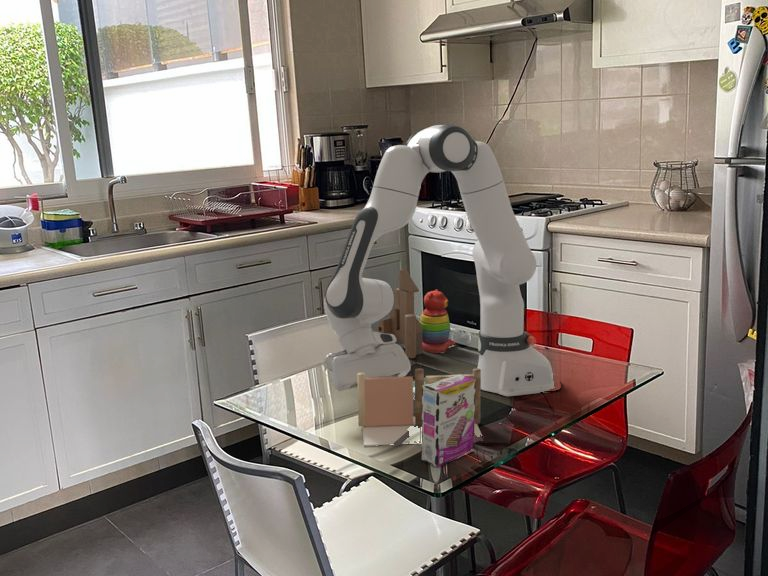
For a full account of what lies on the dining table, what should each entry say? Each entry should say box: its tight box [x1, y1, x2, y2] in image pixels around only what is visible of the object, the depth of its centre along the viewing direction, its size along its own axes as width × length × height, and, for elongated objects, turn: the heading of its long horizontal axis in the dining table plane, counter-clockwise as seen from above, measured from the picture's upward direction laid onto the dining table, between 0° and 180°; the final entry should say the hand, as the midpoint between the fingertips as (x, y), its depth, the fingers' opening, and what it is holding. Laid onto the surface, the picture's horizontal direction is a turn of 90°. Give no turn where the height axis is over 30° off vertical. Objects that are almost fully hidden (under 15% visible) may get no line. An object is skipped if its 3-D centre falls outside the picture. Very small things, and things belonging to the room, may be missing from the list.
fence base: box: [414, 367, 482, 426], centre depth 174 cm, size 15×2×14 cm, turn 93°
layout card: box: [362, 415, 483, 448], centre depth 172 cm, size 26×16×1 cm, turn 93°
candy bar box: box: [421, 373, 476, 468], centre depth 157 cm, size 11×5×16 cm, turn 131°
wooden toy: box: [376, 268, 423, 360], centre depth 229 cm, size 16×7×25 cm, turn 42°
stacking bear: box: [419, 289, 457, 354], centre depth 233 cm, size 11×10×18 cm
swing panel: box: [357, 373, 414, 428], centre depth 173 cm, size 12×2×12 cm, turn 93°
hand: (383, 397), depth 178 cm, fingers closed
